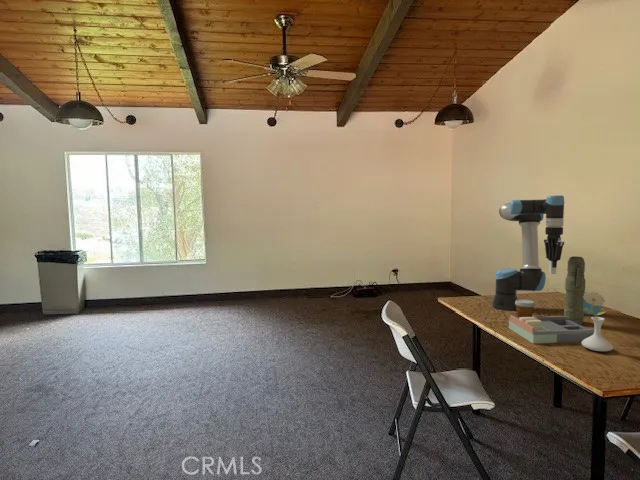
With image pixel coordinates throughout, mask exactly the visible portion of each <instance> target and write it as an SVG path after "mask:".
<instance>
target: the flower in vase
mask: <svg viewBox="0 0 640 480" xmlns="http://www.w3.org/2000/svg"><path fill="white" fill-rule="evenodd" d="M585 292H586V293H585V295H584V296H583V298H584V300H586V302H587V303H589V304H592V307H593V305H594V306H600V305H601V306H604V304H605V303H606V301H605V298H604V296H602V294H600V293H598V292H595V291H585ZM594 292H595V293H594ZM591 309H592V308H591ZM583 311H585V312H587V313H591V312H593V310H590V309H588V308H585V309H584V310H583ZM593 313H594V312H593ZM605 313H606V311H601V312H600V313H598V314H596V315H595V313H594V315H593V316H592V317H591V316H590V318H591V319H592V322H593V324H594V325H593V326H594V327H593V328H594V329H595V330H594V334H593V335H592V336H590V337H588V338H586V339H584V340H583V341H582V342H580V343H581V345H582V347H583V348H586V349H588V350H591V351H596V352H610V351H612V350H613V349H614V346H613V345H612V343H610V342H609V341H608V340H607V339H606V338H605V337H603V335H602V331H601V329H602V325H603V323H604V322H605V320H606V318H604V317H601V315H604V314H605Z"/></svg>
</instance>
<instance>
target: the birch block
mask: <svg viewBox="0 0 640 480" xmlns="http://www.w3.org/2000/svg"><path fill="white" fill-rule="evenodd" d="M535 317H536V316H532V317H519V320H521V321H523V322H525V323H527V324H528V325H530V326H532V327H534V330H536V329H542V321H541V320H539V319H537V318H535Z"/></svg>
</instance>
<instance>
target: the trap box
mask: <svg viewBox="0 0 640 480" xmlns="http://www.w3.org/2000/svg"><path fill="white" fill-rule="evenodd" d="M534 317H535V318H537V319H539V320H541V321H542V329H536V330H534V327H532V326H530V325H528V324H527V323H525V322H523V321H521V320H519V317H517V316H514V315H513V314H512V315H509V317H508V329H510V330H511V331H512V332H515V334H518V336H521V337H522V338H524V339H525V340H527V341H528V342H530V343H532V344H555V343H556V344H557V343H559V344H561V343H581V342H582V341H583V340H584V339H586V338H588V337H590V336H592V335H593V334H594V330H595V328H588V327H585V326H583V325H582V324H581V325H579V324H577V323H575V322H572V321H570V320H568V316H564V315H558V316H557V315H555V316H554V315H553V316H552V315H550V316H534Z"/></svg>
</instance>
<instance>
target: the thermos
mask: <svg viewBox="0 0 640 480" xmlns="http://www.w3.org/2000/svg"><path fill="white" fill-rule="evenodd" d="M585 266H586V262H585V258H584V257H582V256H570V257H569V258H568V260H567V268H566V270H567V271H566V272H567V274H566V277H565V281H564V282H565V284H564V285H565V287H564V290H565V306H564V308H563V316H568V320H570V321H572V322H575V323H577V324H579V325H581V326H582V325H583V324H584V320H585V314H584V311H583V299H584V298H583V296H584V292H586V278H585V271H586V270H585V269H586V267H585Z"/></svg>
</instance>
